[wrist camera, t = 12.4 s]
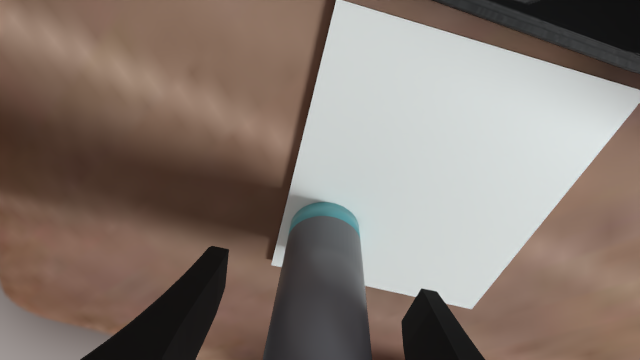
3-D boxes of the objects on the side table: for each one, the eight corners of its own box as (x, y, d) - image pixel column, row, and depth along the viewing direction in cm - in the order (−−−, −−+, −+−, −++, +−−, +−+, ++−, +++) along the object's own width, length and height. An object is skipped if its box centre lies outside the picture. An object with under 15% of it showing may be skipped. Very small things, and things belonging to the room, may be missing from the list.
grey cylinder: (373, 226, 14) (409, 449, 7) (330, 265, 15) (324, 482, 8) (317, 189, 13) (296, 402, 6) (277, 233, 14) (222, 448, 7)
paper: (640, 89, 11) (647, 92, 10) (469, 304, 17) (471, 309, 16) (336, -2, 10) (336, -2, 9) (272, 260, 16) (271, 265, 15)
